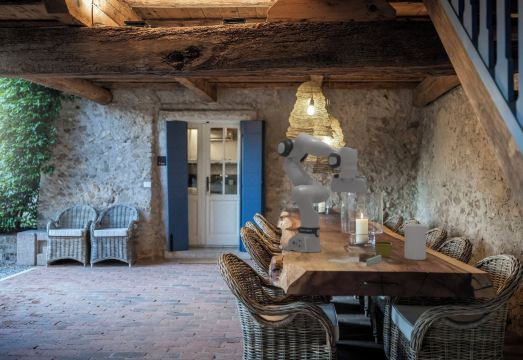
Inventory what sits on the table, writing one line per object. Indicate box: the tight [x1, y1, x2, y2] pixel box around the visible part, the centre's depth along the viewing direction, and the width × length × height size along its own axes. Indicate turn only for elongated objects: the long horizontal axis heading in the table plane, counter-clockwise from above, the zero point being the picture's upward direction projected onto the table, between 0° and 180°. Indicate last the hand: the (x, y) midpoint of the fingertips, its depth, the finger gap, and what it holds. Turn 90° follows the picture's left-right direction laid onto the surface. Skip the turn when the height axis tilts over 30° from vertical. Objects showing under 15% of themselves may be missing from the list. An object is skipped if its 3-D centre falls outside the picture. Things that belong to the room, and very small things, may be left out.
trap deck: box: [327, 255, 382, 267], centre depth 236 cm, size 22×18×4 cm
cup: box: [403, 223, 427, 261], centre depth 254 cm, size 11×11×18 cm
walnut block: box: [358, 251, 376, 263], centre depth 235 cm, size 6×6×4 cm
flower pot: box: [374, 240, 393, 259], centre depth 250 cm, size 9×9×9 cm
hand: (348, 200), depth 253 cm, fingers open, 8 cm apart
